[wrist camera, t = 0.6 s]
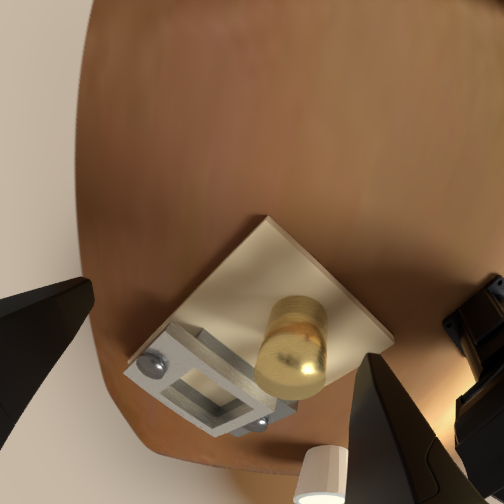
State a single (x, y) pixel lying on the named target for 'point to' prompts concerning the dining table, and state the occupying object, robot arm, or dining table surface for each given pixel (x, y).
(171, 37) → the dining table surface
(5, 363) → the robot arm
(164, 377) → the square frame with knobs
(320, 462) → the white short tapered cylinder
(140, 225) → the dining table surface
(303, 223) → the dining table surface
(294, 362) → the pin
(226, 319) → the board
